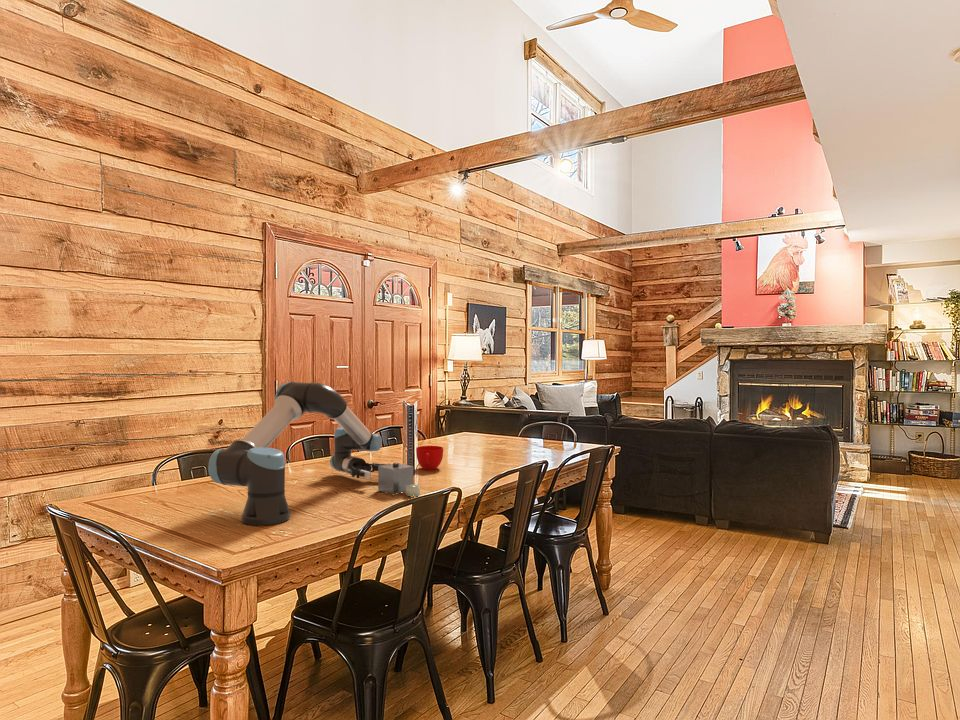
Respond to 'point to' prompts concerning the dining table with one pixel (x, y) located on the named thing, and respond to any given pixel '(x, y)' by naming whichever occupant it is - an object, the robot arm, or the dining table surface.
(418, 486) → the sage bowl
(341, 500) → the dining table surface
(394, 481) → the metal cover
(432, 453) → the ceramic cup
